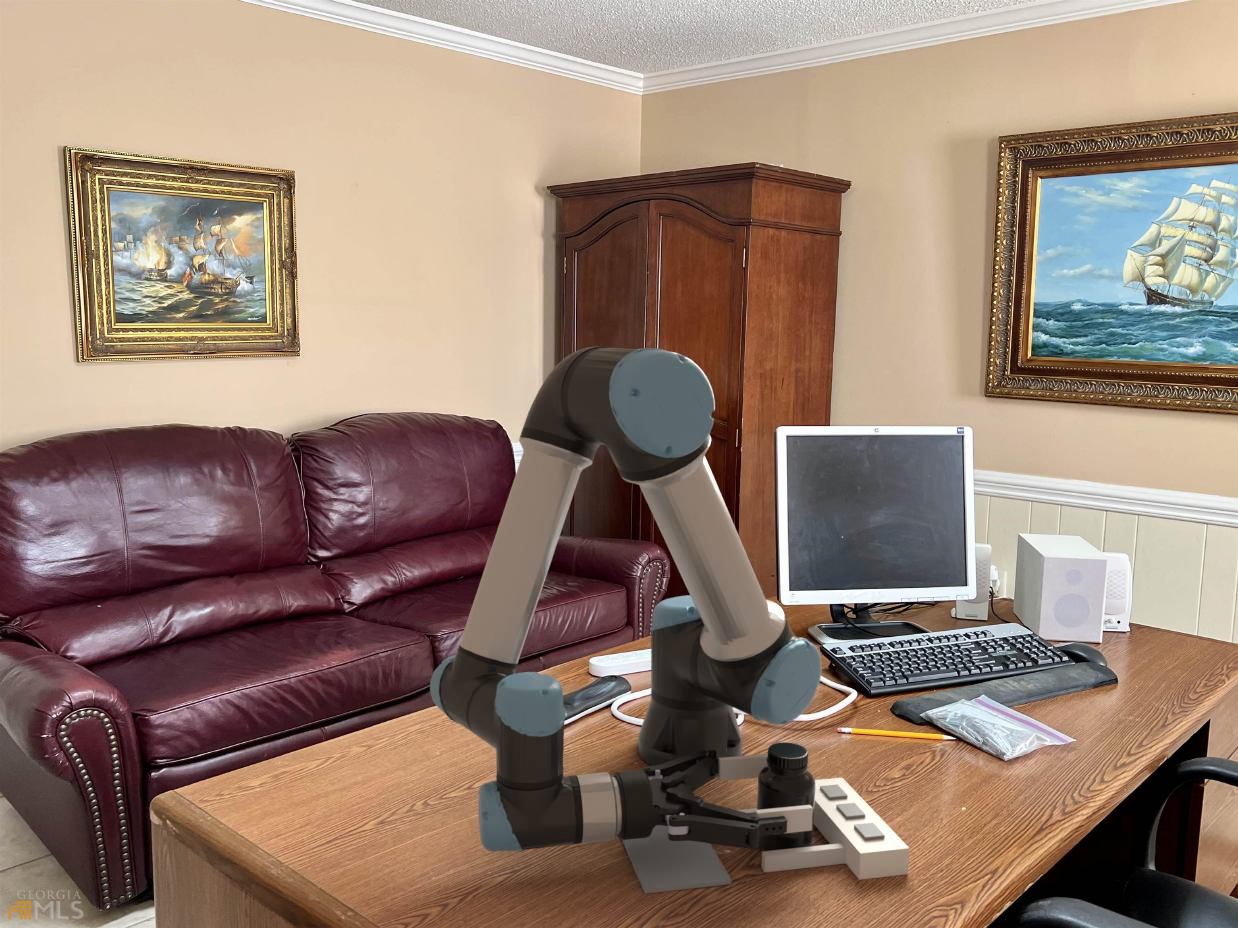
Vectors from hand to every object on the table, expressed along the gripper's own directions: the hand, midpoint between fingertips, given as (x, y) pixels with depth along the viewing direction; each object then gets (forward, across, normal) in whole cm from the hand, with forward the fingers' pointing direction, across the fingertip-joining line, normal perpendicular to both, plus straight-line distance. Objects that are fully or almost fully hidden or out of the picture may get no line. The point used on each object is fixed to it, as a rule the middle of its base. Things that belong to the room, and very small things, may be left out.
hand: (789, 789), depth 119 cm
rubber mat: (-14, 0, -7) cm, 16 cm away
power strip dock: (+3, 0, -7) cm, 8 cm away
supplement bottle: (0, 0, -7) cm, 7 cm away
